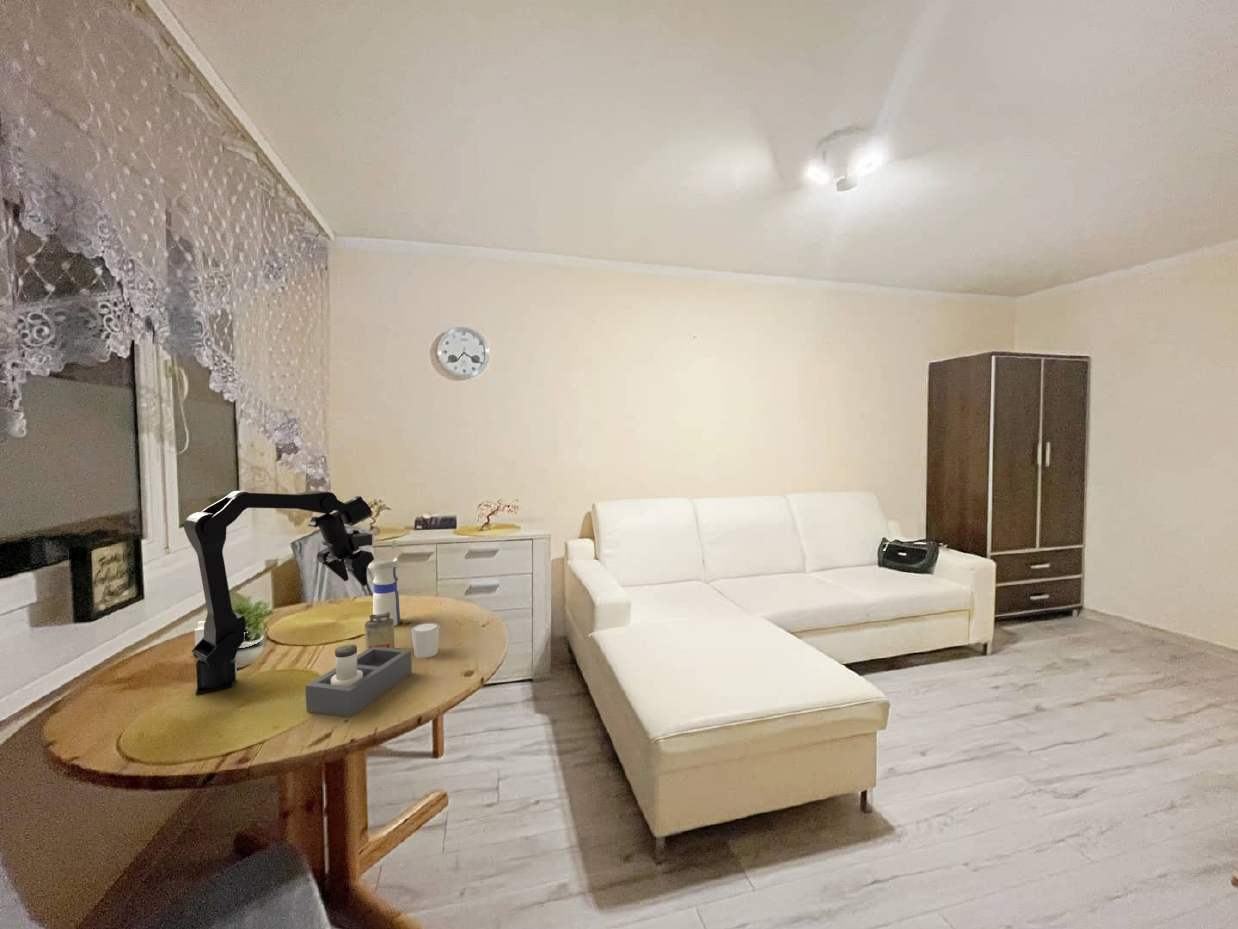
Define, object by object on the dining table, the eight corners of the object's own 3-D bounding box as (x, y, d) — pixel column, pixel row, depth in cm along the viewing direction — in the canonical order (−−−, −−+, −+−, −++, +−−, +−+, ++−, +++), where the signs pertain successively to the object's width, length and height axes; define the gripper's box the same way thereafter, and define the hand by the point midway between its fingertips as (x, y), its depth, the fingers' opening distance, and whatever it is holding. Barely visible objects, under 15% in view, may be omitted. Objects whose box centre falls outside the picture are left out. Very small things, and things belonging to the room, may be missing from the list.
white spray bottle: (376, 619, 156) (373, 539, 154) (405, 617, 157) (402, 538, 155) (366, 629, 147) (363, 545, 146) (396, 627, 148) (393, 544, 147)
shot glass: (433, 645, 135) (432, 620, 135) (444, 653, 131) (444, 627, 130) (407, 653, 131) (406, 627, 130) (418, 661, 126) (417, 634, 125)
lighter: (364, 656, 129) (363, 618, 128) (365, 650, 133) (364, 613, 132) (394, 651, 132) (393, 614, 131) (395, 646, 135) (394, 610, 135)
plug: (331, 700, 103) (330, 657, 102) (330, 687, 108) (329, 646, 107) (364, 692, 106) (363, 650, 105) (361, 680, 111) (360, 640, 110)
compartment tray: (350, 717, 101) (349, 691, 100) (306, 711, 103) (305, 685, 103) (411, 672, 120) (411, 650, 119) (373, 668, 122) (372, 646, 122)
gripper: (381, 523, 137) (399, 572, 142) (344, 517, 147) (362, 563, 152) (343, 543, 128) (364, 594, 134) (306, 536, 138) (327, 584, 144)
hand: (355, 582), depth 141 cm, fingers open, 9 cm apart
